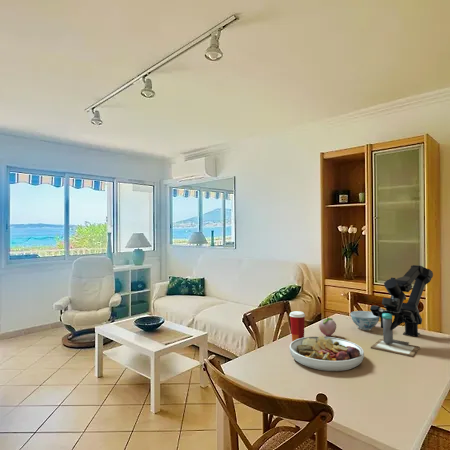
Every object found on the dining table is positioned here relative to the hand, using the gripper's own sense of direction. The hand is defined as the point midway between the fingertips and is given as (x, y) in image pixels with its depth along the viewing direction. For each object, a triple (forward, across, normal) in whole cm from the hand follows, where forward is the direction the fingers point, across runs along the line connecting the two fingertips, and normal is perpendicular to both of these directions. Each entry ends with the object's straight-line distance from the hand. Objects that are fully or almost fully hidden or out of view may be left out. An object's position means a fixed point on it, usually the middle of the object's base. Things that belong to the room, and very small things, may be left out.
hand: (386, 328), depth 152 cm
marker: (+3, 0, +6) cm, 7 cm away
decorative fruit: (+11, -27, +1) cm, 29 cm away
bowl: (+30, -10, -17) cm, 36 cm away
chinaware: (-8, -21, +20) cm, 30 cm away
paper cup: (+23, -32, -11) cm, 41 cm away
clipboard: (+5, +4, +6) cm, 9 cm away
